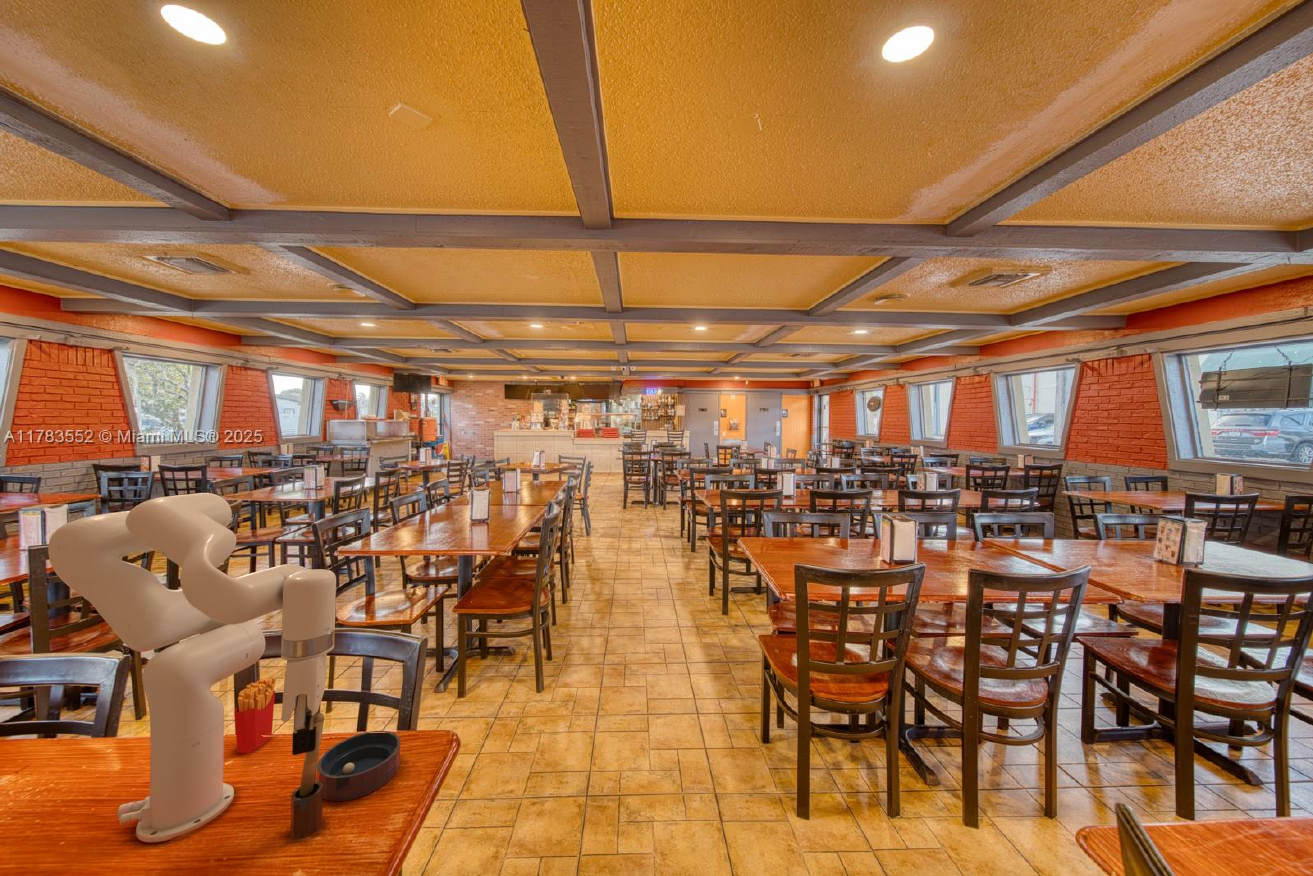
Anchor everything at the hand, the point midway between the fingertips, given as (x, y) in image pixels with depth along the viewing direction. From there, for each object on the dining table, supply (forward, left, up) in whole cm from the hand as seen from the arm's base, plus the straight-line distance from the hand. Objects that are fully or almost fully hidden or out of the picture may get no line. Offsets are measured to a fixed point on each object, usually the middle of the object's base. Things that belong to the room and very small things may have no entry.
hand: (305, 746), depth 82 cm
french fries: (-15, +34, -15) cm, 40 cm away
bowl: (+7, +11, -15) cm, 20 cm away
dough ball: (+5, +12, -13) cm, 19 cm away
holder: (0, 0, -15) cm, 15 cm away
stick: (0, 0, -11) cm, 11 cm away
